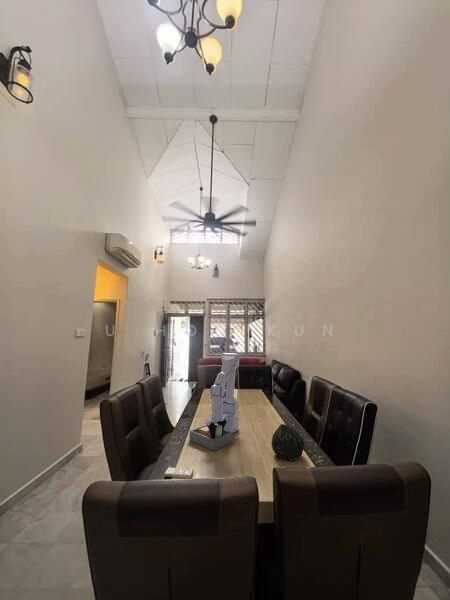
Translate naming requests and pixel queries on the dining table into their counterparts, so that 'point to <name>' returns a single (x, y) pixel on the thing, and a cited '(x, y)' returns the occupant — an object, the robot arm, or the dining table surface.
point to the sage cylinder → (218, 431)
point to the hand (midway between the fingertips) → (216, 436)
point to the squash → (287, 443)
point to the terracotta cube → (205, 431)
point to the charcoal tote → (210, 439)
